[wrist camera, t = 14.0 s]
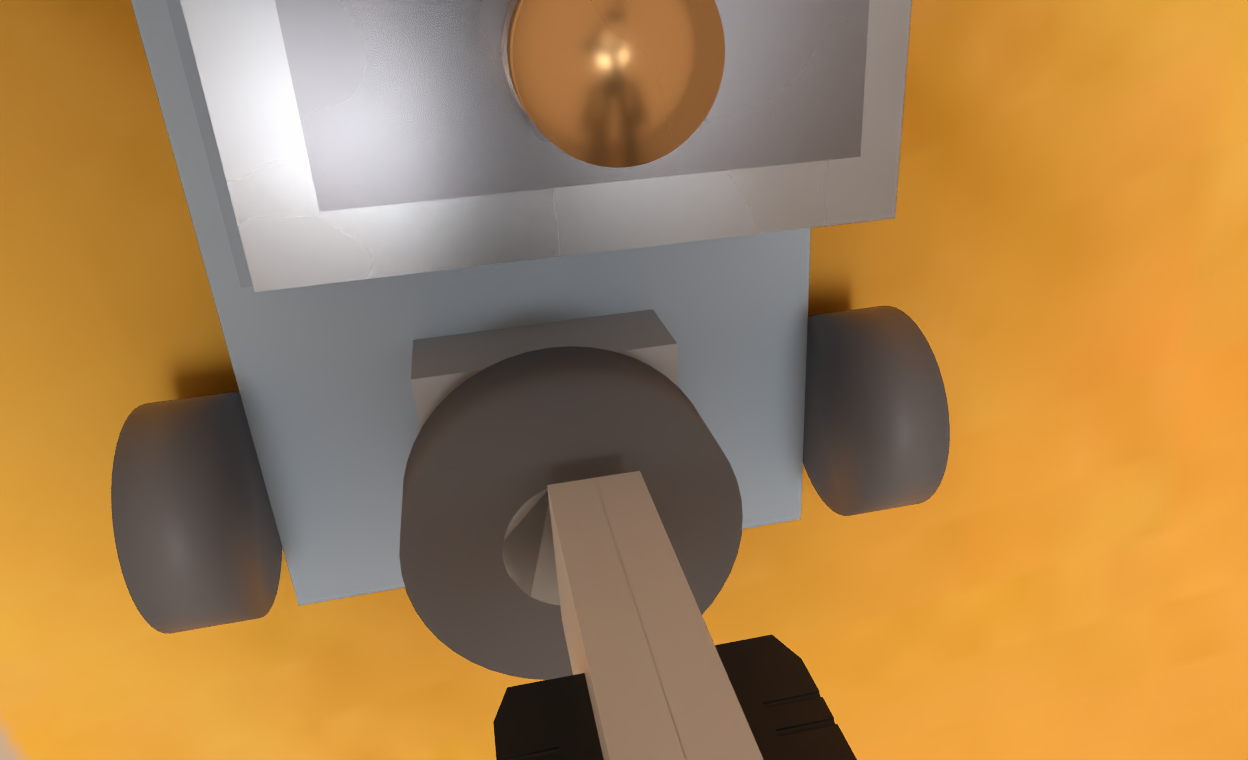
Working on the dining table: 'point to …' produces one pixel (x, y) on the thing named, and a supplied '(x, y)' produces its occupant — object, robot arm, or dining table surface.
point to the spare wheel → (518, 496)
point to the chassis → (455, 351)
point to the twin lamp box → (542, 125)
